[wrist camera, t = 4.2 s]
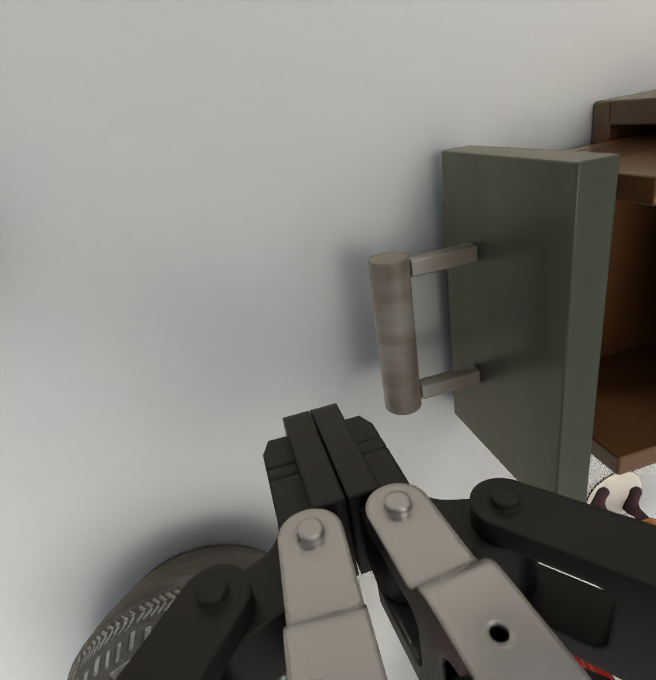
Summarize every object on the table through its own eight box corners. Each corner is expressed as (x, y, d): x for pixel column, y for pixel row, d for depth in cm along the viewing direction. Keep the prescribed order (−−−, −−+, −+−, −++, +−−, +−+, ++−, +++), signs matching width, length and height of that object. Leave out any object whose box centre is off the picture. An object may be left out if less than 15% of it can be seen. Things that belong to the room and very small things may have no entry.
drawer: (375, 436, 22) (449, 558, 16) (339, 170, 17) (424, 194, 11) (696, 342, 25) (867, 414, 19) (744, 91, 20) (1000, 73, 14)
